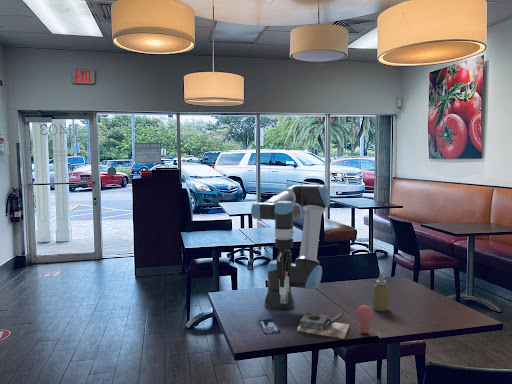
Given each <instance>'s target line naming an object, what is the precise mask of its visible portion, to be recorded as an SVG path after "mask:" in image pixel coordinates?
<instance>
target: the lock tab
mask: <svg viewBox="0 0 512 384" xmlns="http://www.w3.org/2000/svg"><path fill="white" fill-rule="evenodd" d="M344 315H345V313H344V311H342V312H340V313H339V314H337V315H336V316H334V317H333V318H331V320H329V321H328V322H327V324H328V327H329V326H330V325H331V324H333V323H334V322H336V323H337V321H339V320H340V319H342V318H343V317H344Z"/></svg>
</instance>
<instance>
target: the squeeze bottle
mask: <svg viewBox="0 0 512 384" xmlns="http://www.w3.org/2000/svg"><path fill="white" fill-rule="evenodd" d="M371 303H372V306H373V309H374V310H375V311H378V312H386V311H387V310H388V308H389V305H390V295H389V286H388V285H387V280H385V279H384V275H383V273H382V272H380V273H379V276H378V279H376V280H375V284H374V286H373V291H372V301H371Z"/></svg>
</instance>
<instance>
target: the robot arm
mask: <svg viewBox="0 0 512 384" xmlns="http://www.w3.org/2000/svg"><path fill="white" fill-rule="evenodd" d="M330 202H331V200H330V192H329V188H328V187H327V185H326V184H309V183H308V184H302V183H301V184H293V185H290V186H288V187H286V188H283V189H281V190H280V191H279V193H278V194H276V195H274V196H273V197H271V198H270V199H267V200H266V201H264V202H260V201H259V202H254V203H253V204H252V205H251V208H250V209H251V210H250V213H251V217H252V218H253V219H256V220H259V221H260V220H267V221H269V220H270V221H274V238H275V239H274V246H275V248H276V249H278V255H276V256H275V259H274V260H271V261H269V262H268V264H267V292H266V295H265V299H264V307H265V306H266V307H267V309H268V308H270V309H269V310H272V309H274V310H273V311H287V310H290V309H293V308H294V307H295V299H294V296H293V294H292V288H298V289H305V290H316V289H317V288H318V287H319V285H320V284H321V280H322V276H323V268H322V266H321V265H320V261H319V260H318V258H317V257H318V251H319V250H318V249H319V240H320V232H321V223H322V216H323V213H325V212H326V208H329V207H330V204H331V203H330ZM303 211H304V218H303V219H304V220H303V225H302V233H301V241H300V242H301V243H300V250H299V256H298V257H296V259H295V262H292V254H293V250H290V249H293V247H294V239H293V237H294V233H295V230H294V221H296V220H298V219H299V218H301V216H302V214H303ZM285 271H288V303H287V304H281V303H280V294H282V295H286V279H285ZM266 307H265V308H266Z"/></svg>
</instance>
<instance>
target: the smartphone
mask: <svg viewBox="0 0 512 384" xmlns="http://www.w3.org/2000/svg"><path fill="white" fill-rule="evenodd" d="M258 322H259V323H260V325H261V326H260V325H259V326H260V328H261V327H262V328H265V326H266V325H268V326H267V328H268V327H273V326H274V329H275V330H274V329H273V331H272V333H275V332H277V331H278V332H282V331H280V330H281V329H280V327H279V326H278V324H277V323H276V321H275V319H274V318H263V319H258V320H257V323H258ZM259 323H258V324H259ZM277 327H279V328H277ZM262 328H261V329H262ZM269 329H270V328H269ZM277 329H278V330H277ZM264 332H265V331H264ZM264 332H263V333H264ZM278 332H277V333H275V334H279V333H278Z"/></svg>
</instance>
